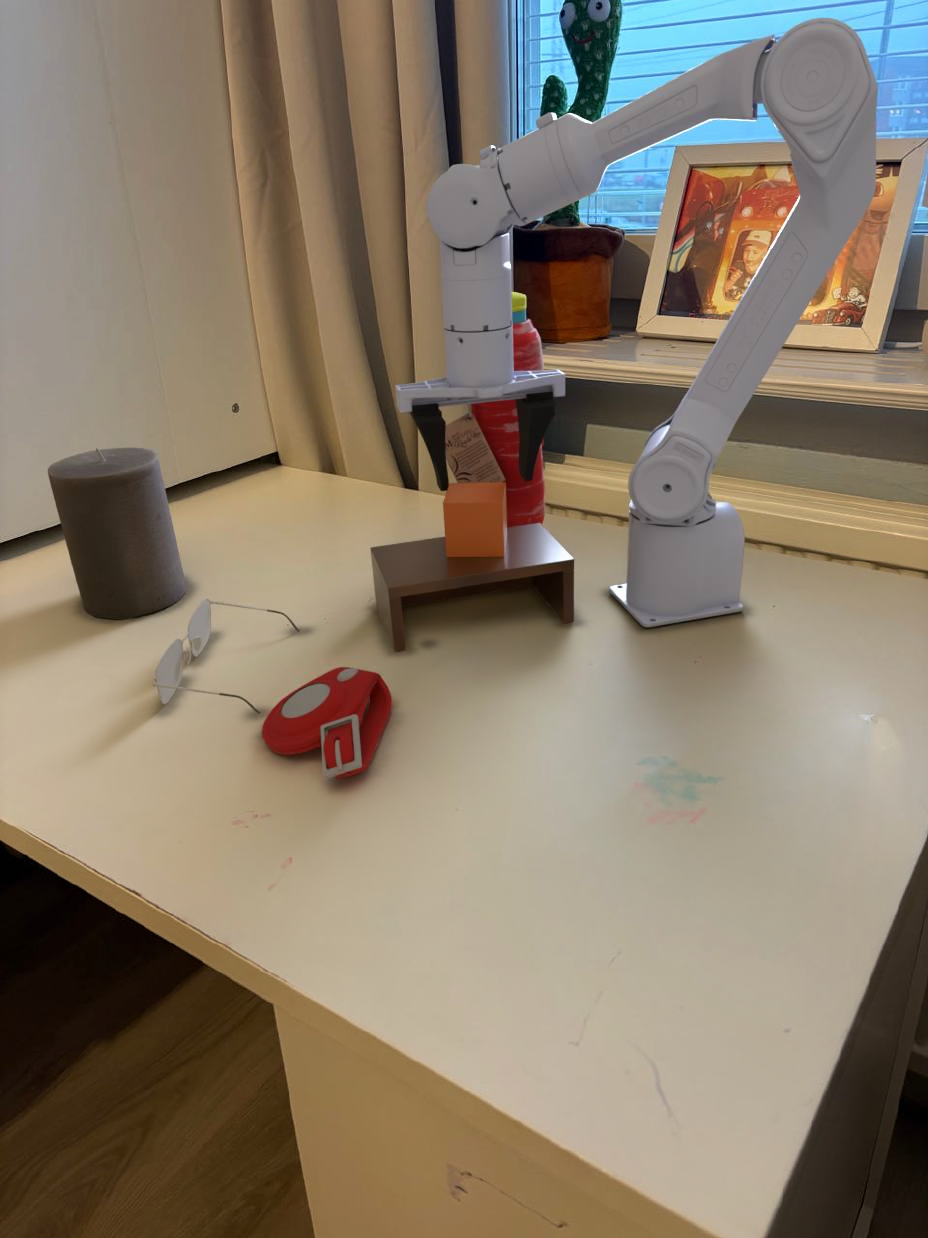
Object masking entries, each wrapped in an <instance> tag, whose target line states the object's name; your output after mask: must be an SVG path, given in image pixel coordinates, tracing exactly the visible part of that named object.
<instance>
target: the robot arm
mask: <svg viewBox="0 0 928 1238" xmlns="http://www.w3.org/2000/svg"><path fill="white" fill-rule="evenodd" d="M878 92H879V86H878V82H877V79H876V76H875V74H874V70H873V68H872V65H871V62H870V59H869V56H868V54H867V50H866V48H865V46H864V43H863V41H862V39H861V37H860V36H859V34H858V33H857V32H856V30H854V29H853V28H852V27H851V26H850V25H848V24H847V23H846V22H843V21H842V20H839V19H836V18H832V17H815V18H811V19H808V20H805V21H802V22H800V23H798V24H796V25H794V26H793V27H791V28H790V29H788V30H787V31H786V32H785V33H783V35H781V37H780V38H779V39H777V40H776V36H775V34H771V35H767V36H764V37H761V38H757V39H754V40H752V41H749V42H747V43H744V44H742V45H739V46H737V47H734V48H732V49H730V50H727V51H724V52H721V53H719V54H717V55H715V56H713V57H711V58H709V59H708V60H705V61H704V62H702V63H700V64H697V66H694V67H693V68H691V69H689V70H687V71H685V72H683V73H682V74H680V75H678V76H676V77H674V78H672V79H671V80H669V81H667V82H665V83H663V84H662V85H660V86H658V87H656V88H653V89H652V90H650V91H649V92H646V93H644V94H643V95H641V96H639V97H638V98H636V99H634V100H632V101H630V102H628V103H626V104H624V105H623V106H621V107H619V108H617V109H615V110H614V111H612V112H610V113H608V114H606V115H604V116H603V117H601V118H598V119H597V120H595V121H593V122H592V121H590V120H587V119H585V118H582V117H581V116H579V115H577V114H574V113H571V112H569V113H566V114H564V115H562V116H560V117H557V114H556V113H555V112H547V113H546V114H543V115H542V116H540V117H538V118H536V119H535V124H536V129H535V130H532V131H530V132H529V133H527V134H525V135H523V136H520V137H519V138H517V139H515V140H513V141H511V142H508V143H507V144H505V145H502V146H501V147H500V148H496V146H495V145H488V146H486V147H484V148H482V149H481V150H480V151H479V156H480V161H479V164H477V165H476V164H475V165H473V164H470V163H457V164H452V165H451V166H450V167H449V168H448V169H447V170H446V171H445V172H444V173H442V174H441V175H440V176H439V177H438V178H437V179H436V180H435V181H434V182H433V184H432V186H431V188H430V190H429V193H428V196H427V201H426V215H427V219H428V220H427V221H428V223H429V226H430V227H431V229H432V231H433V233H434V235H436V237H437V238H438V239H439V256H440V279H441V280H440V281H441V296H442V297H441V301H442V317H443V330H444V348H445V349H444V350H445V367H446V376H445V377H438V378H435V379H427V380H423V381H418V382H412V383H406V384H405V383H404V384H396V385H395V387H394V388H395V389H394V390H395V400H396V408H397V410H398V412H399V413H400V414H402V413H403V414H404V413H409V415H410V416H411V419H412V420H413V422H414V424H415V425H416V427H417V430H418V431H419V434H420V436H421V437H422V440H423V442H424V444H425V447H426V450H427V453H428V455H429V458H430V460H431V463H432V464H431V465H432V467H433V470H434V474H435V479H436V485H437V487H438V489H439V491H440V492H447V489H448V486H449V483H450V480H449V472H448V466H447V464H448V463H447V461H446V451H445V429H446V425H447V422H446V421H445V419H444V417H443V411H442V410H441V409H440V408H442V407H452V406H462V405H468V404H473V403H482V402H492V401H502V400H512V399H515V400H516V407H517V416H518V427H519V472H520V476H521V477H522V478H523V479H524V480H525V481H532V480H533V474H534V468H535V464H536V460H537V456H538V453H539V449H540V446H541V443H542V441H544V438H545V435H546V434H547V432H548V429H549V428H550V425H551V423H552V422H553V420H554V418H555V416H556V413H557V408H558V403H557V401H555V399H554V398H559V397H566V373H565V372H563V371H561V370H560V369H549V370H547V369H546V370H544V371H514V359H513V324H512V292H513V291H512V288H513V287H512V265H511V253H510V248H511V247H510V232H511V231H512V229H513V228H514V227H515V226H518V227H523V226H527V225H528V224H530V223H533V222H535V221H538V220H539V219H542V218H543V217H546V216H547V215H549V214H552V213H554V212H556V211H559V210H560V209H563V208H565V207H567V206H569V205H572V204H574V203H575V202H578V201H580V200H582V199H584V198H587V197H589V196H591V195H593V194H595V193H596V192H597V191H598V190H599V188H600V185H601V183H602V180H603V178H604V175H605V173H606V171H607V169H608V168H609V166H611V165H612V164H615V163H617V162H619V161H621V160H624V159H626V158H628V157H630V156H633V155H634V154H637V153H639V152H643V151H645V150H646V149H649V148H651V147H653V146H655V145H658V144H660V143H662V142H665V141H667V140H670V139H672V138H674V137H676V136H678V135H680V134H683V133H685V132H688V131H690V130H692V129H694V128H697V127H699V126H701V125H703V124H706V123H708V122H710V121H714V120H725V121H727V120H728V121H745V122H746V121H747V122H757V121H758V108H759V106H758V105H762V106H763V108H764V110H765V112H766V114H767V116H768V117H769V119H770V120H771V122H772V123H773V125H774V127H775V130H776V131H777V132H778V133H779V134H780V136H781V137H782V138H783V140H784V141H785V143H786V145H787V146H788V147H787V148H789V151H790V154H789V157H790V161H791V166H792V169H793V173H794V177H795V180H796V184H797V188H798V192H799V195H798V198H797V200H796V201H795V204H794V205H793V207H792V208H791V210H790V212H789V214H788V215H787V217H786V219H785V221H784V223H783V224H782V226H781V228H780V229H779V232H778V233H777V235H776V237H775V238H774V239H773V242H772V243H771V245H770V247H769V249H768V251H767V252H766V254H765V256H764V258H763V259H762V261H761V263H760V264H759V266H758V268H757V270H756V271H755V273H754V275H753V277H752V279H751V281H750V282H749V284H748V286H747V287H746V289H745V291H744V293H743V294H742V296H741V297H740V300H739V301H738V303H737V305H736V307H734V308H735V309H734V310H733V311H732V313H731V314H730V315H731V316H730V317H729V319H728V321H727V322H726V324H725V326H724V327H723V329H722V331H721V333H720V334H719V336H718V337H717V340H716V342H715V343H714V345H713V347H712V349H711V350H710V353H709V354H708V356H707V357H706V359H705V361H704V362H703V364H702V366H701V368H700V369H699V371H698V373H697V375H696V377H695V378H694V380H693V382H692V384H691V385H690V387H689V389H688V390H687V391H686V393H685V395H684V396H683V398H682V400H681V401H680V403H679V405H678V407H677V409H676V410H675V412H674V413H673V414H672V415H671V416H670V417H668V419H666V420H665V421H664V422H662V423H661V424H659V425H658V426H656V427H655V428H654V429H653V430H652V431H651V432H650V434H649V435H648V437H647V438H646V440H645V443H644V447H643V450H642V452H641V455H640V457H639V458H638V459H637V461H636V462H635V464H634V465H633V467H632V469H631V470H630V474H629V476H628V482H627V483H628V484H627V486H628V487H627V488H628V494H629V497H630V501H629V506H628V510H629V511H628V533H627V557H626V558H627V561H626V583H621V584H615V585H611V586H609V594H611V595H612V596H613V597H614V598H615V599H616V600H617V602H619V603H620V604H621V606H623V608H624V609H625V610H626V611H627V612H628V614H630V615H631V616H632V617H633V618H634V619H635V620H636V621H637V622H638V623H639V625H641V627H643V628H654V627H659V626H665V625H671V624H676V623H683V622H688V621H694V620H699V619H706V618H711V617H716V616H723V615H728V614H734V613H739V612H742V611H743V610H744V605H743V604H742V603H741V602H740V595H741V586H742V574H743V565H744V556H745V545H746V544H745V543H746V540H745V530H744V529H745V528H744V524H743V521H742V518H741V516H740V514H739V512H738V511H737V509H736V508H735V507H734V506H733V505H732V504H731V503H729V502H727V501H716V500H715V499H713V496H712V494H711V493H710V491H709V489H710V480H711V477H712V473H713V471H714V469H715V466H716V464H717V460H718V459H719V457H720V455H721V454H722V452H723V449H724V448H725V445H726V443H727V441H728V439H729V437H730V435H731V433H732V431H733V430H734V427H735V426H736V424H737V421H738V420H739V418H740V417H741V415H742V413H743V412H744V410H745V409H746V407H747V405H748V404H749V402H750V400H751V399H752V397H753V395H754V394H755V393H756V391H757V389H758V387H759V386H760V384H761V382H762V381H763V379H764V378H765V376H766V374H767V373H768V371H769V370H770V368H771V366H772V365H773V363H774V361H775V360H776V358H778V357H777V356H778V355H779V353H780V351H781V350H782V349H783V347H784V345H785V344H786V342H787V340H788V339H789V337H790V336H791V334H792V332H793V330H794V329H795V327H796V325H797V324H798V322H799V321H800V319H801V318H802V316H803V314H804V313H805V311H806V309H807V308H808V307H809V305H810V303H811V302H812V300H813V298H814V297H815V295H816V294H817V292H818V290H819V289H820V287H821V285H822V283H823V282H824V280H825V279H826V277H827V275H828V274H829V273H830V271H831V269H832V267H833V266H834V264H835V262H836V261H837V259H838V258H839V256H840V254H841V253H842V251H843V250H844V248H845V246H846V245H847V243H848V241H849V240H850V238H851V237H852V235H853V233H854V232H855V230H856V229H857V227H858V225H859V224H860V222H861V220H862V219H863V217H864V216H865V214H866V212H867V211H868V209H869V208H870V206H871V204H872V201H873V199H874V197H875V194H876V189H877V188H876V187H877V110H878V108H877V107H878V94H879V93H878Z"/></svg>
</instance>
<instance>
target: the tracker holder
mask: <svg viewBox="0 0 928 1238" xmlns="http://www.w3.org/2000/svg"><path fill="white" fill-rule="evenodd" d="M367 705H368V706H367ZM366 708H367V709H366ZM392 708H393V698H392V692H391V690H390V688H389V686H388V685H387V683H386V681H385V680H384V678H383V677H382V675H381V674H380V673H378V672H376V671H372V670H371V671H369V670H365V669H360V668H355V667H350V666H340V667H336V668H333V669H331V670H329V671H327V672H325V673H323V674H321V675H319V676H317V677H315V678H314V679H312V680H309V681H308V682H307V683H305V684H303V685H301V686H300V687H298V688H297V689H295V690H293V691H291V692H290V693H289V694H287V695H286V696H285V697H283V698H282V699H281V700H280V701H278V703H277V704H276V705H275V706H273V708H272V709H271V710H270V711H269V713H268V714H267V716H266V718H265V719H264V722H263V724H262V727H261V737H262V740H263V741H264V743H265V744H266V746H267V747H268V749H270V751H272V752H274V753H276V754H279V755H287V756H288V755H296V754H302V753H306V752H309V751H312V750H314V749H317V748H319V747H321V759H322V760H321V761H322V776H323V778H325V779H330V778H332V777H335V778H336V779H337V778H338V779H341V778H346V777H350V776H354V775H357V774H359V773H362V772H364V771H365V770H367V769H368V767H369V765H370V763H371V761H372V759H373V756H374V753H375V750H376V748H377V746H378V743H379V742H380V739H381V736H382V734H383V732H384V730H385V728H386V725H387V722H388V720H389V718H390V715H391V712H392Z"/></svg>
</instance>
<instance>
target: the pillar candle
mask: <svg viewBox="0 0 928 1238" xmlns="http://www.w3.org/2000/svg"><path fill="white" fill-rule="evenodd" d="M47 475H48V480H49V484H50V488H51V491H52V495H53V499H54V503H55V507H56V510H57V514H58V518H59V523H60V525H61V529H62V532H63V536H64V540H65V545H66V549H67V551H68V555H69V556H68V557H69V559H70V563H71V566H72V571H73V574H74V578H75V582H76V585H77V587H78V592H79V595H80V598H81V602H82V605H83V608H84V610H85V612H86V613H87V614H89V615H91V616H94V617H97V618H103V619H110V620H111V619H114V620H119V619H122V620H123V619H124V620H126V619H127V620H128V619H132V618H136V617H141V616H145V615H149V614H152V613H155V612H158V611H161V610H163V609H165V608H168V607H170V606H172V605H174V604H175V603H177V602H178V601H179V600H180V599H182V597H183V596H184V595H185V594H186V591H187V584H186V578H185V574H184V570H183V564H182V560H181V556H180V552H179V547H178V543H177V536H176V533H175V528H174V523H173V519H172V514H171V509H170V505H169V500H168V496H167V492H166V486H165V483H164V479H163V473H162V469H161V463H160V459H159V452H158V451H156V450H154V449H148V448H144V447H133V446H132V447H112V448H102V449H99V447H96V448H95V449H91V450H88V451H84V452H82V453H77V454H74V455H70V456H67V457H65V458H62V459H59V460H58V461H56V462H54V463H52V464H50V465H49V466H48V468H47Z"/></svg>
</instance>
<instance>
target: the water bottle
mask: <svg viewBox="0 0 928 1238" xmlns="http://www.w3.org/2000/svg"><path fill="white" fill-rule="evenodd" d="M512 324H513V359H514V371H545V369H544V367H545V366H544V353H543V346H542V339H541V336H540V334H539V332H538V330H537V328H535V327H534V324H533V322H532V319H530V318H527V296H526V294H523V293H520V292H516V291H512ZM467 410H468V413H466V414H464V415H462V416H460V417H458V418H457V419H455V420H453V421H451V422H450V423H448V424H447V423H446V429H445V451H446V464H448V467H449V468H450V471H451V472H452V475H453V476H454V479H455V480H456V483H492V482H505V483H506V509H507V528H508V527H515V526H522V525H529V524H536V523H541V525H542V526H543V524H544V521H545V517H546V483H545V471H544V459H543V457H544V456H543V447H544V446H545V442H544V440H543V441H542V443H541V446H540V449H539V453H538V456H537V460H536V464H535V468H534V474H533V480H532V481H525V480H524V479H523V478H522V477H521V476H520V472H519V427H518V416H517V407H516V400H515V399H512V400H502V401H492V402H482V403H473V404H467Z"/></svg>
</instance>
